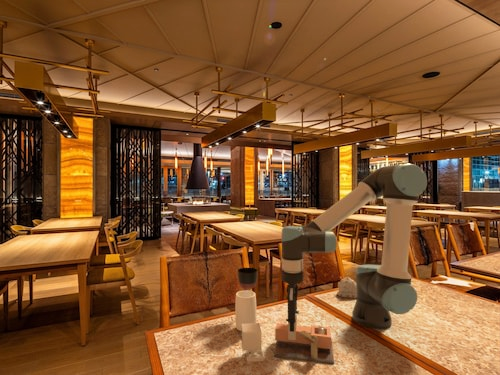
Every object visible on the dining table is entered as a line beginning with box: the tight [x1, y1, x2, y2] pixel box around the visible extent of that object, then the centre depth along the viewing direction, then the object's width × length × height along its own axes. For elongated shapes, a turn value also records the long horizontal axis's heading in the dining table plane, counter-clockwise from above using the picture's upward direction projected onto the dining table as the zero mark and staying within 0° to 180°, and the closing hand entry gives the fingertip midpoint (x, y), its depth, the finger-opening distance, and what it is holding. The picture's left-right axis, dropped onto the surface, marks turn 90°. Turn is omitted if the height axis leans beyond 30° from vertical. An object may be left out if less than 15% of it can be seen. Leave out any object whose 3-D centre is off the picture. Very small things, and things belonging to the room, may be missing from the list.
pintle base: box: [273, 326, 335, 365], centre depth 97 cm, size 19×17×8 cm
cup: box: [234, 289, 257, 332], centre depth 111 cm, size 8×8×14 cm
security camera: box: [240, 322, 265, 363], centre depth 92 cm, size 6×7×10 cm
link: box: [274, 322, 332, 349], centre depth 98 cm, size 19×7×4 cm, turn 77°
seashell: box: [337, 276, 357, 299], centre depth 146 cm, size 12×14×10 cm
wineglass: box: [237, 267, 258, 291], centre depth 123 cm, size 8×9×20 cm
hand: (292, 335), depth 99 cm, fingers closed on link, 4 cm apart
